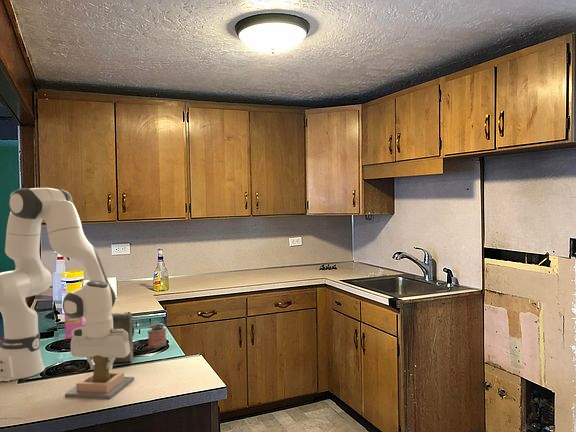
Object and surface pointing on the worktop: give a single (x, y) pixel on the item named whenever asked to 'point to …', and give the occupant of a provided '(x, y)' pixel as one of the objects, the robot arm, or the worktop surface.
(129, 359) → the vintage camera
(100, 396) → the socket block
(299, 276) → the worktop surface
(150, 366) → the worktop surface
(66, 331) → the gum box
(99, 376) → the olive peg figure
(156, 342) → the lighter
